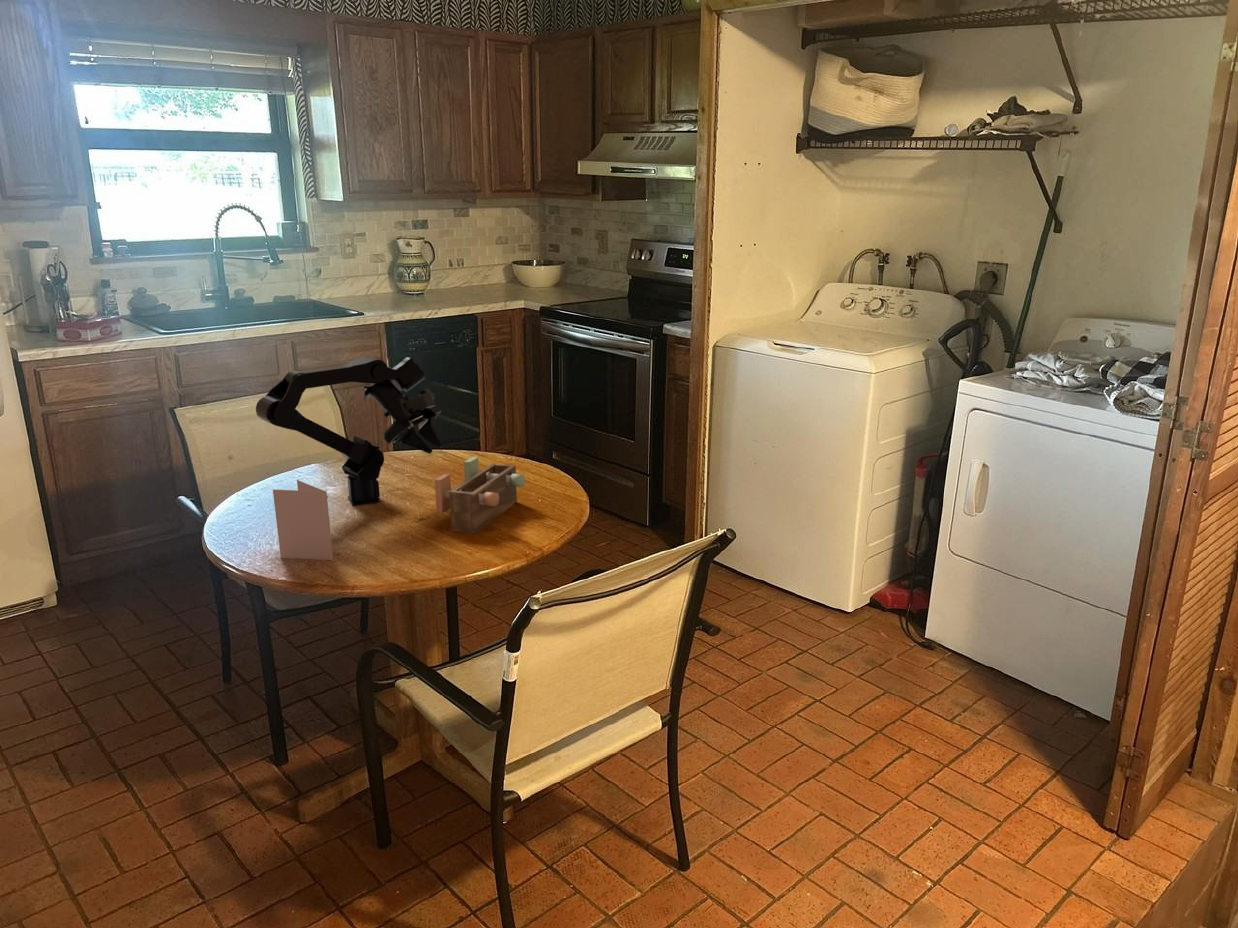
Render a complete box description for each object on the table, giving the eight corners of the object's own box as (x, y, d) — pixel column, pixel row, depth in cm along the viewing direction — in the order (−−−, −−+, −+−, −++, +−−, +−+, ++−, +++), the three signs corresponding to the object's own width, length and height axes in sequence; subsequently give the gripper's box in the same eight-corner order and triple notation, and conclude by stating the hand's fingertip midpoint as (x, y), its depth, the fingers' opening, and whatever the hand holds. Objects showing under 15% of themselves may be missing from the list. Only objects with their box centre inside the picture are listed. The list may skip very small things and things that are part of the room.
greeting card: (337, 558, 190) (330, 490, 186) (304, 569, 185) (296, 499, 181) (307, 544, 198) (300, 478, 193) (275, 554, 192) (267, 487, 188)
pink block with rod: (436, 512, 208) (434, 479, 205) (446, 506, 212) (444, 473, 209) (492, 519, 203) (491, 485, 201) (501, 513, 207) (499, 479, 205)
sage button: (465, 493, 220) (463, 461, 218) (474, 487, 224) (472, 456, 222) (518, 499, 216) (517, 467, 214) (526, 493, 220) (525, 462, 218)
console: (451, 530, 206) (449, 491, 203) (494, 499, 226) (492, 463, 223) (475, 533, 204) (473, 494, 201) (516, 501, 224) (515, 465, 221)
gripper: (391, 388, 210) (436, 439, 210) (432, 372, 227) (474, 419, 227) (364, 419, 215) (408, 468, 215) (406, 401, 232) (447, 447, 232)
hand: (436, 449), depth 222 cm, fingers open, 5 cm apart
